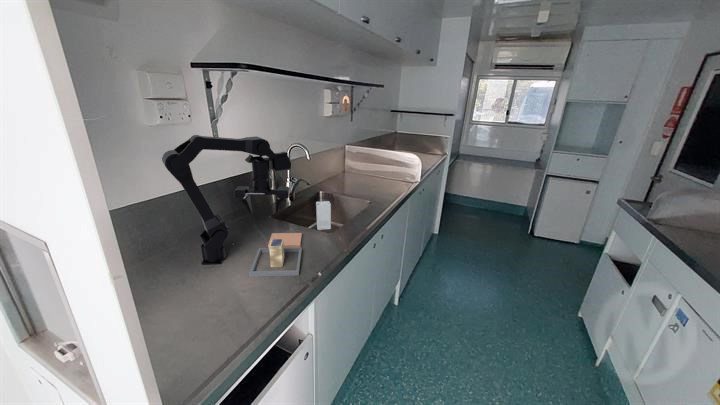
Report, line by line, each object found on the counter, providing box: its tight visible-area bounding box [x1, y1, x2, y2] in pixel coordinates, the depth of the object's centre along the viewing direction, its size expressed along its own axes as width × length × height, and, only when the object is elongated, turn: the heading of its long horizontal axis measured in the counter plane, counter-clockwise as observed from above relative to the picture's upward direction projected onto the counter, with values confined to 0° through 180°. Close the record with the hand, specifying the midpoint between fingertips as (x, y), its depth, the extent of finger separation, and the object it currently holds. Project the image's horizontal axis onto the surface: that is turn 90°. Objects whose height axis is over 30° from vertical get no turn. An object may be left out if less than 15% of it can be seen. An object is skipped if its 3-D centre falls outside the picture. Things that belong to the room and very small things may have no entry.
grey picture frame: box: [248, 246, 303, 278], centre depth 101 cm, size 16×16×2 cm
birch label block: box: [269, 239, 285, 268], centre depth 99 cm, size 4×5×8 cm
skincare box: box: [315, 200, 332, 231], centre depth 126 cm, size 6×4×12 cm
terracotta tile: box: [267, 232, 303, 248], centre depth 115 cm, size 12×10×1 cm
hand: (264, 213), depth 107 cm, fingers open, 9 cm apart
